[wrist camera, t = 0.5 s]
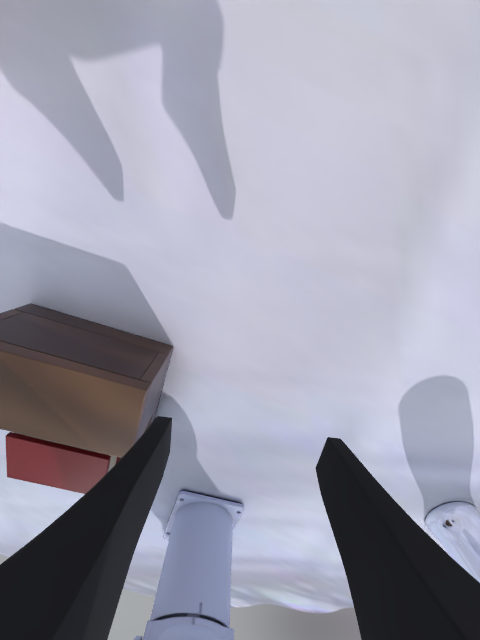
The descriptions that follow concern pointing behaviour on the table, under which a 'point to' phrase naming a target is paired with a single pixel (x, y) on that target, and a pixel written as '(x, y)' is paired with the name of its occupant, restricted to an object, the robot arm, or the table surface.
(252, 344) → the table surface
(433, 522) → the beer glass
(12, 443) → the red hardcover book
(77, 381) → the book rack
